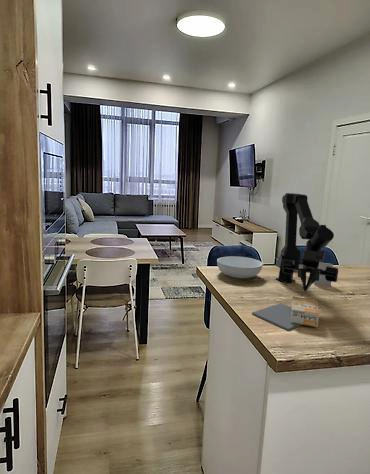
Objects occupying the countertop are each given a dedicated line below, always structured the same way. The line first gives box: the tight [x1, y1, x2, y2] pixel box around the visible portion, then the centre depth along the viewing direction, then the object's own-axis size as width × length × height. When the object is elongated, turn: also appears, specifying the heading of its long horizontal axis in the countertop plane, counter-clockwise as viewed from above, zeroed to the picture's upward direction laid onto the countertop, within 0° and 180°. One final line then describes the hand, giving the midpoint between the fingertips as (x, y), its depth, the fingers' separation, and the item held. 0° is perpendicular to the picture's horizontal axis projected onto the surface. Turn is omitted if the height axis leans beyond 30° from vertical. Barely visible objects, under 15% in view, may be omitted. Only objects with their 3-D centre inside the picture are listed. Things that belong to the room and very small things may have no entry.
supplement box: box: [290, 295, 320, 328], centre depth 109 cm, size 8×5×13 cm
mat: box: [251, 303, 302, 331], centre depth 110 cm, size 16×14×1 cm
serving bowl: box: [216, 256, 264, 279], centre depth 154 cm, size 21×21×7 cm
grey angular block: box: [313, 261, 334, 288], centre depth 147 cm, size 4×7×10 cm, turn 76°
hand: (304, 291), depth 114 cm, fingers closed
